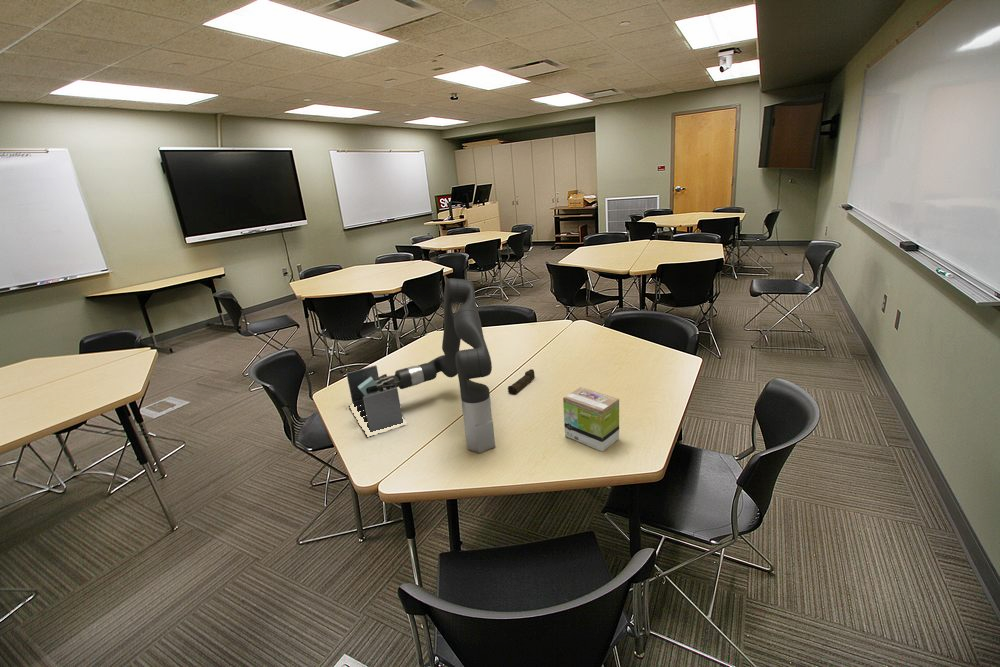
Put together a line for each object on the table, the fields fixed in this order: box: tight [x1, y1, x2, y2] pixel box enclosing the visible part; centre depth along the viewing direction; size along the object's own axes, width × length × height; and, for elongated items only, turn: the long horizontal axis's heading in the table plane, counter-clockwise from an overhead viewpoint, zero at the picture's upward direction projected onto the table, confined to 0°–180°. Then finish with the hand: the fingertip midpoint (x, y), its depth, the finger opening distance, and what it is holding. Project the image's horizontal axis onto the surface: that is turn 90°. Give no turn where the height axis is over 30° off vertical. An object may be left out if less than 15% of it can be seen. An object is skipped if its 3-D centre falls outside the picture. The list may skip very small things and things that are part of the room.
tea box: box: [562, 386, 620, 452], centre depth 147 cm, size 15×10×15 cm
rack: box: [345, 364, 403, 432], centre depth 175 cm, size 30×15×15 cm, turn 30°
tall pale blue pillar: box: [358, 377, 378, 396], centre depth 173 cm, size 3×6×12 cm, turn 119°
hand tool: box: [507, 368, 535, 396], centre depth 192 cm, size 19×4×5 cm, turn 145°
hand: (365, 389), depth 170 cm, fingers closed on tall pale blue pillar, 2 cm apart
